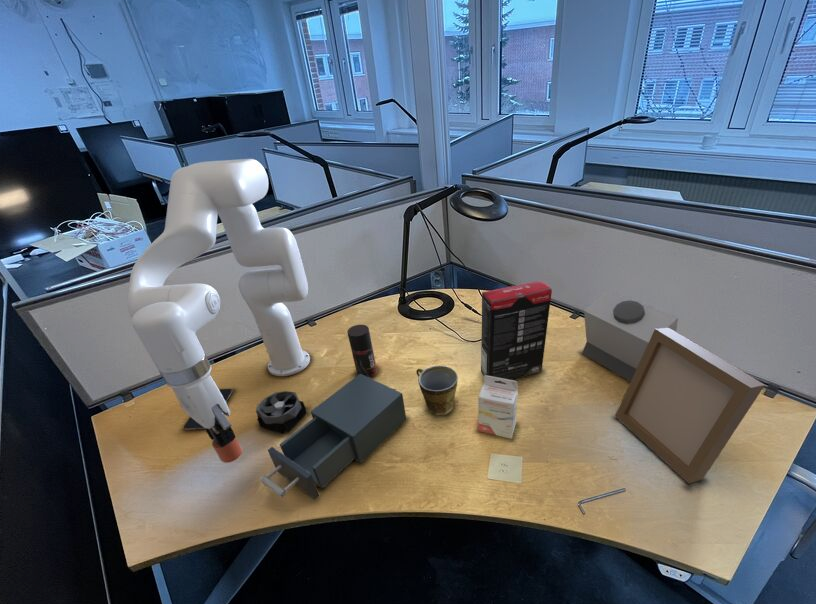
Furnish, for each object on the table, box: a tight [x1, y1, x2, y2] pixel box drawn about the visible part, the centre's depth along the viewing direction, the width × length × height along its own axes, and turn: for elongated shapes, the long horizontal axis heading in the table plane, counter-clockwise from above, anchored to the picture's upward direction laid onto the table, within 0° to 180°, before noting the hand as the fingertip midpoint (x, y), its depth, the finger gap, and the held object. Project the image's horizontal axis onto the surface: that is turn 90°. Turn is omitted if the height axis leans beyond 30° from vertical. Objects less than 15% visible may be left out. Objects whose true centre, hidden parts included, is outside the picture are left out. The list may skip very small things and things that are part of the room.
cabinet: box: [310, 374, 407, 464], centre depth 101 cm, size 17×15×9 cm
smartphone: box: [183, 388, 233, 431], centre depth 113 cm, size 7×1×15 cm
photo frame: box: [614, 328, 766, 484], centre depth 89 cm, size 15×22×25 cm
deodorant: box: [346, 324, 378, 378], centre depth 119 cm, size 6×6×15 cm
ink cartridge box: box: [477, 375, 519, 439], centre depth 97 cm, size 9×5×15 cm, turn 71°
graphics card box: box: [480, 280, 553, 383], centre depth 111 cm, size 17×7×27 cm, turn 108°
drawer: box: [259, 417, 357, 500], centre depth 91 cm, size 20×13×7 cm, turn 145°
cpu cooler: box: [255, 390, 307, 435], centre depth 107 cm, size 10×6×10 cm
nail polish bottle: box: [209, 422, 243, 464], centre depth 84 cm, size 4×4×10 cm
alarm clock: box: [581, 288, 679, 382], centre depth 114 cm, size 20×16×20 cm
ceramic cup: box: [416, 365, 459, 416], centre depth 107 cm, size 13×10×10 cm
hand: (223, 437), depth 84 cm, fingers closed on nail polish bottle, 2 cm apart
